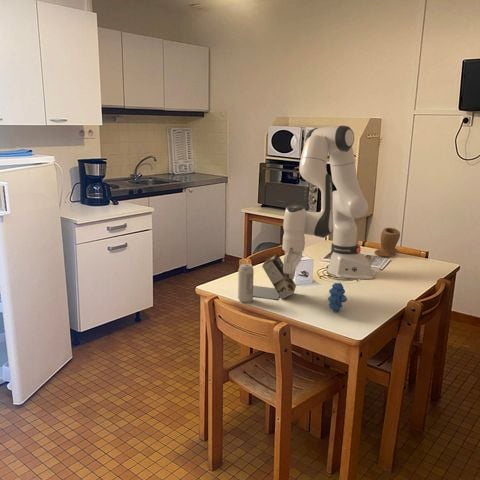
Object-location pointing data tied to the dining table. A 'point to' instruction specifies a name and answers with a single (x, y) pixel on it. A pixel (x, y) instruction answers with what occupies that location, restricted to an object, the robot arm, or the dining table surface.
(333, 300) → the grapes
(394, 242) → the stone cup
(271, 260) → the coffee box
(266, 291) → the mat
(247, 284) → the energy drink can
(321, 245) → the dining table surface
